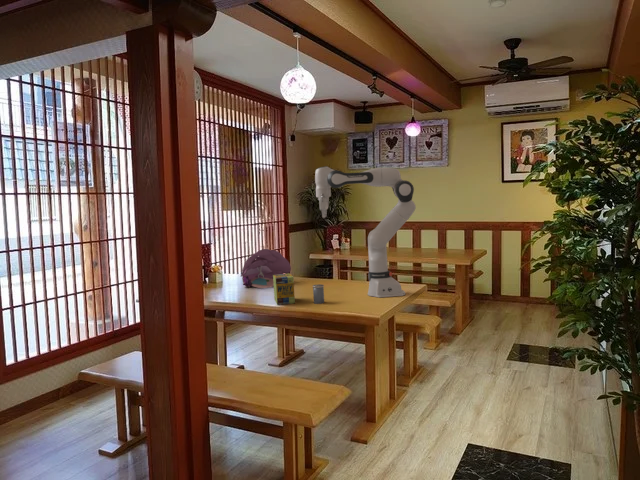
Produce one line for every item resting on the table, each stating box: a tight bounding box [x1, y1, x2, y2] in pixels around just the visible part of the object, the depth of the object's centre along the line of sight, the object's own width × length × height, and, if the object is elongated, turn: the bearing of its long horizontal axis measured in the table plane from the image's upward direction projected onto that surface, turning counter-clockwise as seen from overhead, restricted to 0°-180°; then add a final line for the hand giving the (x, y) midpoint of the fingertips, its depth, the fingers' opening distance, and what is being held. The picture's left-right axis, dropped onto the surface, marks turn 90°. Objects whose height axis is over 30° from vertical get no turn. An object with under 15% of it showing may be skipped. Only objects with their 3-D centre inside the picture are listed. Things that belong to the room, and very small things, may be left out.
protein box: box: [273, 273, 296, 306], centre depth 291 cm, size 10×15×16 cm
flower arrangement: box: [240, 248, 292, 289], centre depth 348 cm, size 35×24×28 cm
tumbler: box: [312, 284, 325, 305], centre depth 284 cm, size 6×6×10 cm
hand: (324, 217), depth 296 cm, fingers open, 8 cm apart
